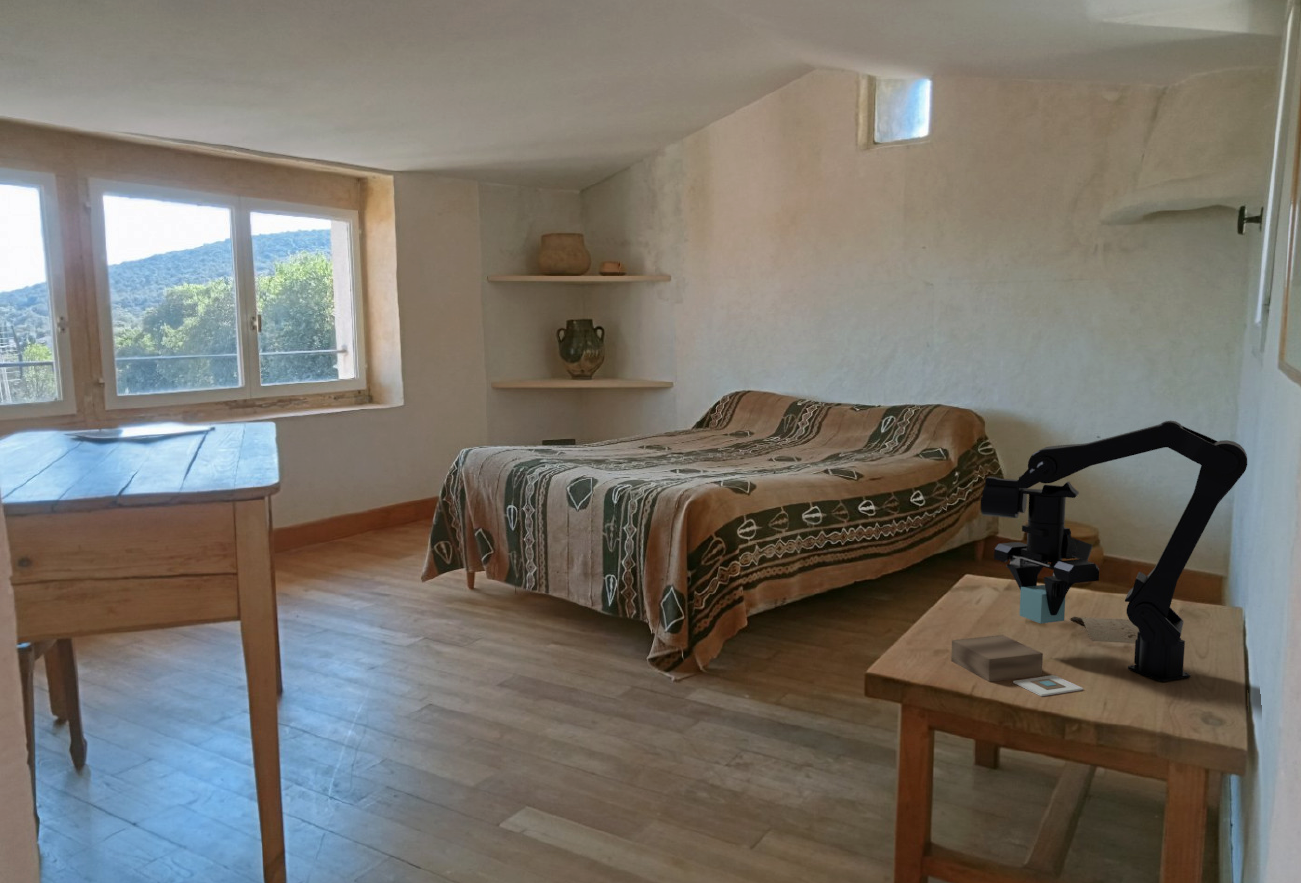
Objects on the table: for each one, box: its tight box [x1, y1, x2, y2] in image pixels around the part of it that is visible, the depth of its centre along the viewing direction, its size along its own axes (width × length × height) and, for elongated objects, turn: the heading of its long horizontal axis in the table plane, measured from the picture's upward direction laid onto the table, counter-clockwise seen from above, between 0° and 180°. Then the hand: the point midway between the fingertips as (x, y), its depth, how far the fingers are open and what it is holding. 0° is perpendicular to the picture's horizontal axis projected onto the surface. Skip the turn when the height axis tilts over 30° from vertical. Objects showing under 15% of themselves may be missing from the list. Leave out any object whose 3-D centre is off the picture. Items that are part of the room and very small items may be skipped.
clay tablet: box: [1069, 616, 1139, 644], centre depth 170 cm, size 14×10×3 cm
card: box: [1013, 674, 1084, 697], centre depth 142 cm, size 6×8×1 cm
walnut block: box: [950, 634, 1044, 683], centre depth 151 cm, size 10×10×4 cm
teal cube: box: [1019, 584, 1066, 624], centre depth 157 cm, size 5×5×5 cm
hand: (1042, 610), depth 157 cm, fingers closed on teal cube, 5 cm apart
